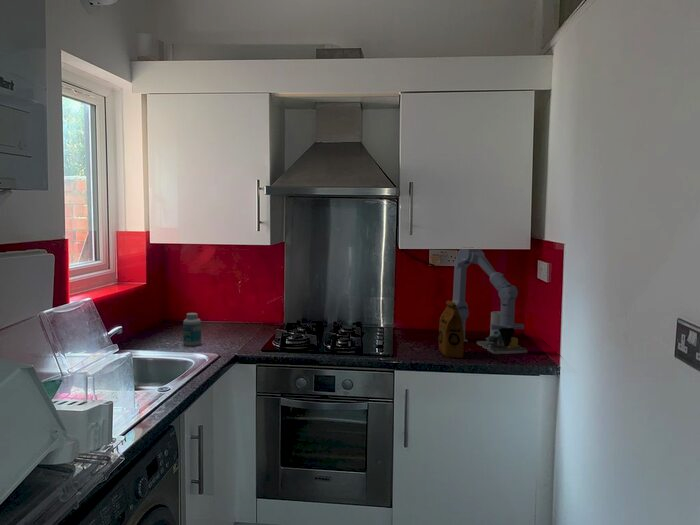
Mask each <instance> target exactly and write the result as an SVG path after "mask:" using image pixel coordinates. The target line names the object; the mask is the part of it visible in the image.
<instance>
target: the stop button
mask: <svg viewBox="0 0 700 525" xmlns="http://www.w3.org/2000/svg"><path fill="white" fill-rule="evenodd" d="M488 337H489V342H493V343H495V342H497V337H496V336H490V335H489V336H488Z"/></svg>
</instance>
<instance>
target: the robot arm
mask: <svg viewBox="0 0 700 525" xmlns="http://www.w3.org/2000/svg"><path fill="white" fill-rule="evenodd" d="M456 256H457V257H456V259H455V261H454V267H453V268H454V269H453V292H452V302H454V303H455V304H456V307H457V309H458V312H459V315H460V317H461V320H462V326H463V331H464V342H469V340H468V339H466V322H467V319H468V318H469V316H470V311H469V308H468V303H467V302H466V289H467V288H466V286H467V270H468V269H467V268H468V267H469V266H470V265H471V264H475V265H478V266H479V267H480V268H481V269H482V270H483V271H484V273H486V274H487V276H488V277H489V282H490V284H492V286H493V287H494V288H495V289H496V290H497V292H498V293H497V294H498V297H499V299H500V311H501V314H500V324H491V323H490V324H489V329H491V330H494V329H499V331H500V333H501V336H502V339H503V344H504V346H509V343H510V340H511V338H512V337H514V334H515V331H516V330H518V329H519V330H524V329H525V325H524V324H523V323H515V312H516V311H515V310H516V309H515V308H516V299H517V298H518V297H519V289H517V286H515V285H512V284H511V283H510V282H508V280H507V279H506V278H505V277H504V276H505V275H504V273H501V272H500V271H499V272H497V270H495V268H494V267H493V266H492V264H491V262H489V260H488V259H487V258H486V256H485V252H484V251H483V250H482V249H481V248H480V249H462V248H461V249H459V250H458V251H457V255H456Z"/></svg>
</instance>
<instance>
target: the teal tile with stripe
mask: <svg viewBox="0 0 700 525" xmlns="http://www.w3.org/2000/svg"><path fill="white" fill-rule="evenodd" d="M499 334H501V333H500V332H499V333H497V334H494V335H492V336H496V337H497V339H498V340H499ZM485 341H489V336H488V337H485Z"/></svg>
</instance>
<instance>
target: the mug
mask: <svg viewBox="0 0 700 525" xmlns="http://www.w3.org/2000/svg"><path fill="white" fill-rule="evenodd" d="M500 314H501V310H499V311H498V310H497V311H496V310H495V311H491V312H490V324H500ZM489 329H490V328H489ZM496 331H498V333H499V332H500V331H499V329H494V330H491V329H490V331H489V336H492V335H494V332H496Z"/></svg>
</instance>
